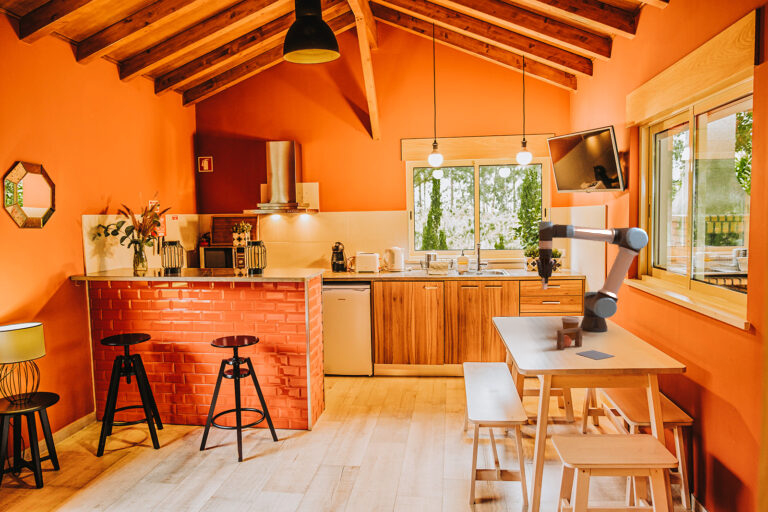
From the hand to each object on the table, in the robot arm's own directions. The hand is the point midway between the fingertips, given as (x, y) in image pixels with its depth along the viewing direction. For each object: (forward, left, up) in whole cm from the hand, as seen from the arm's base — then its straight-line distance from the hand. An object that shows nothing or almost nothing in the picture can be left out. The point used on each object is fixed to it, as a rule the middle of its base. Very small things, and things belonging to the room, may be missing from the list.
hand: (544, 288), depth 299 cm
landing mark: (+12, +46, -26) cm, 54 cm away
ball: (+12, +27, -23) cm, 38 cm away
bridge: (+12, +30, -26) cm, 42 cm away
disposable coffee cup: (-4, +16, -27) cm, 31 cm away
